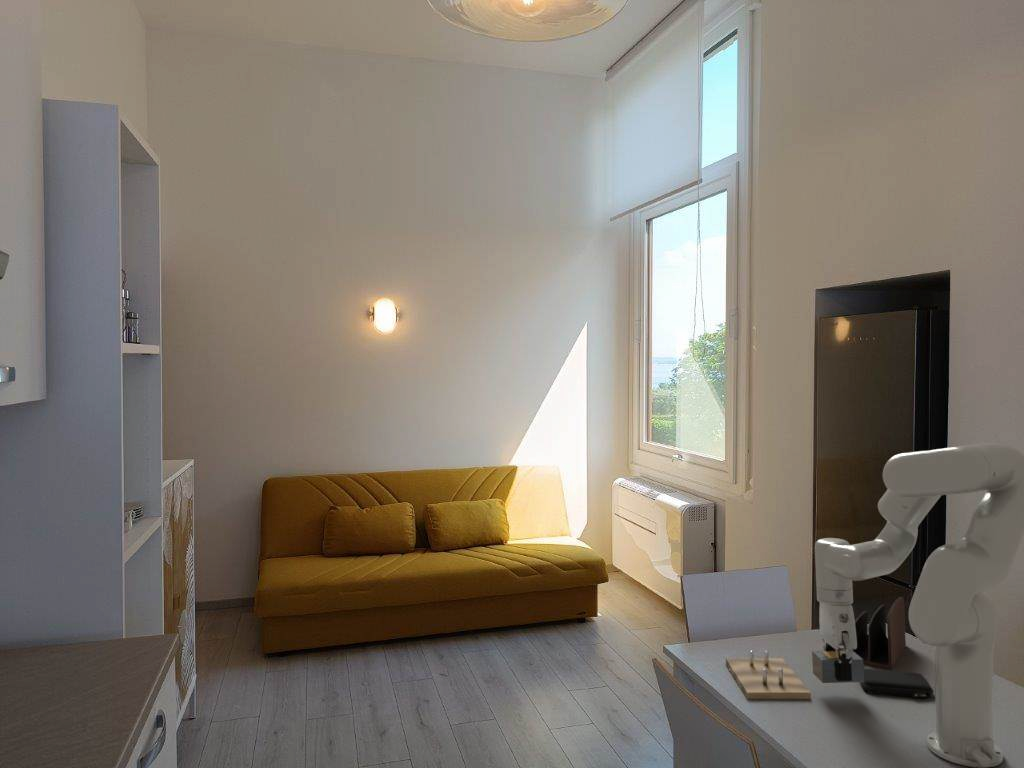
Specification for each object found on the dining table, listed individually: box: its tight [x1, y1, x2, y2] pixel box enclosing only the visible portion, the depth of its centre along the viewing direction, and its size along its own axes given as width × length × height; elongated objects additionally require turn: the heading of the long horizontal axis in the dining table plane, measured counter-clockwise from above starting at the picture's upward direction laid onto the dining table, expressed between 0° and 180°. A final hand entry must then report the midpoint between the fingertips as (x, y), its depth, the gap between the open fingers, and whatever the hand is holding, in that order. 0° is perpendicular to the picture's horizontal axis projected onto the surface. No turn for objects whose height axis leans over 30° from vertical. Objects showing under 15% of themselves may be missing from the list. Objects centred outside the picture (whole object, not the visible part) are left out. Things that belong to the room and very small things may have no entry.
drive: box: [811, 650, 865, 684], centre depth 169 cm, size 9×6×5 cm, turn 88°
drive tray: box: [725, 650, 812, 700], centre depth 179 cm, size 20×14×5 cm
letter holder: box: [853, 596, 907, 671], centre depth 195 cm, size 10×20×14 cm, turn 144°
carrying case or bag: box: [860, 668, 935, 699], centre depth 173 cm, size 11×3×15 cm
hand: (838, 674), depth 169 cm, fingers closed on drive, 6 cm apart
